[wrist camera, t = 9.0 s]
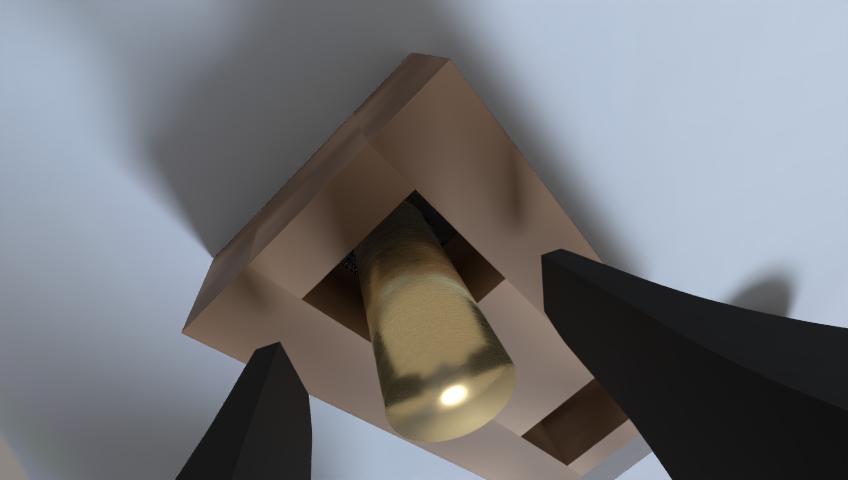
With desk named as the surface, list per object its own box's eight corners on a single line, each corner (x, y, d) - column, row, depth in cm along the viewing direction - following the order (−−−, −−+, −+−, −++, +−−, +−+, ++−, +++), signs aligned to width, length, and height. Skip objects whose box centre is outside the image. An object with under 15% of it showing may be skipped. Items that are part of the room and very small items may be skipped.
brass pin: (393, 278, 16) (454, 454, 9) (335, 242, 15) (356, 420, 8) (440, 225, 16) (541, 373, 9) (383, 182, 14) (451, 320, 7)
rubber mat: (561, 510, 30) (564, 516, 30) (490, 475, 25) (493, 481, 25) (665, 434, 29) (669, 438, 28) (611, 381, 24) (615, 386, 23)
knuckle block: (509, 438, 24) (542, 506, 20) (213, 259, 14) (181, 332, 10) (638, 335, 22) (697, 389, 19) (411, 52, 12) (450, 59, 9)
